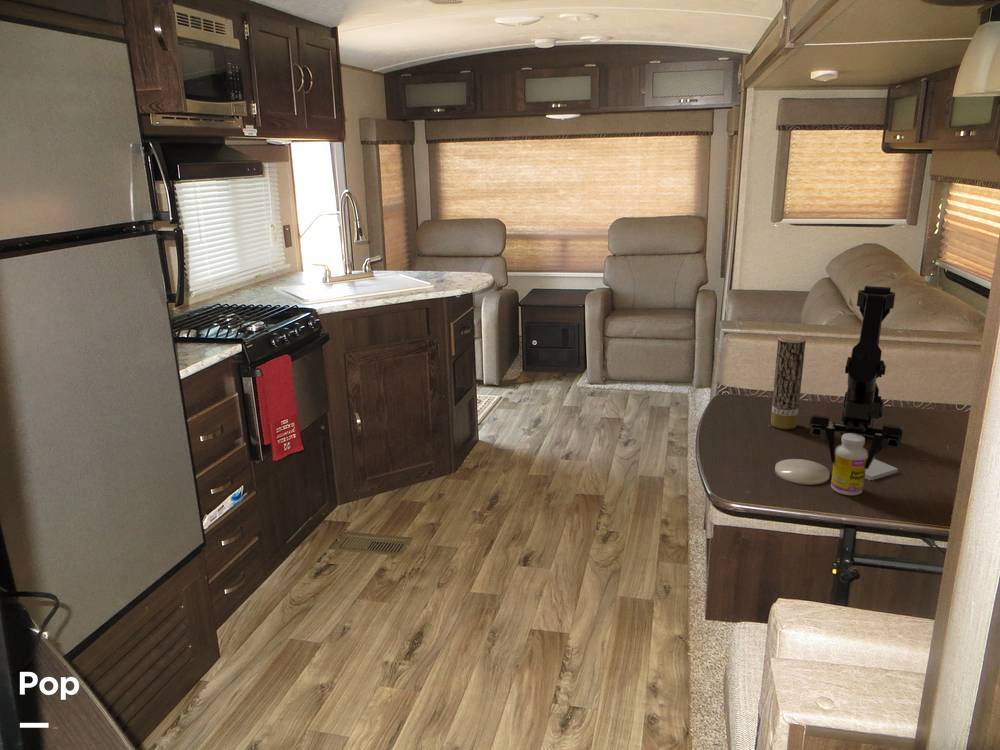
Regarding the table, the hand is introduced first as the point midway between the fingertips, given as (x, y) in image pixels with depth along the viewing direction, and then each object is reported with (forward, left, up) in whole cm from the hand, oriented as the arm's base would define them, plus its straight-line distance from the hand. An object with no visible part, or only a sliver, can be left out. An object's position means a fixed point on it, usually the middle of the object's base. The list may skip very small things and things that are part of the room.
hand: (849, 465), depth 167 cm
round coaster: (+1, -12, -7) cm, 14 cm away
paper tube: (-18, -36, -7) cm, 41 cm away
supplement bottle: (-1, -1, -7) cm, 7 cm away
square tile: (-14, -6, -7) cm, 17 cm away
